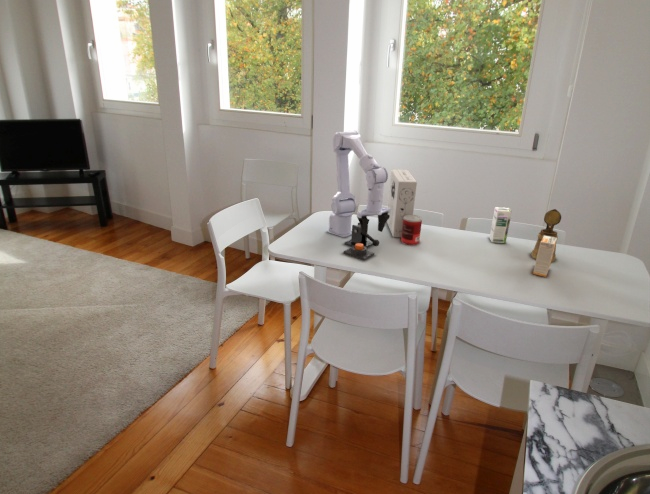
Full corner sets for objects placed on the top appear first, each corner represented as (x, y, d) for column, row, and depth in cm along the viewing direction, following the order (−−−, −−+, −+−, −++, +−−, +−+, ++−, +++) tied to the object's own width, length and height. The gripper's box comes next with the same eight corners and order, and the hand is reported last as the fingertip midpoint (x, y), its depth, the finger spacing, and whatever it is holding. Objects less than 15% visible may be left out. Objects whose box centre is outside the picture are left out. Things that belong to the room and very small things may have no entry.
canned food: (418, 239, 203) (421, 214, 198) (420, 246, 196) (423, 221, 191) (400, 238, 203) (402, 214, 199) (401, 244, 196) (404, 220, 192)
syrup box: (491, 242, 201) (497, 210, 195) (489, 237, 206) (495, 206, 200) (505, 243, 200) (512, 211, 194) (502, 238, 205) (509, 207, 200)
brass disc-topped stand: (557, 252, 193) (567, 210, 185) (554, 264, 182) (565, 220, 175) (533, 247, 197) (543, 206, 189) (529, 258, 186) (539, 215, 179)
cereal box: (410, 238, 204) (417, 181, 194) (392, 237, 204) (398, 181, 194) (402, 221, 223) (407, 169, 213) (386, 220, 223) (391, 169, 213)
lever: (378, 246, 190) (381, 241, 189) (374, 248, 188) (377, 243, 187) (357, 228, 195) (360, 223, 193) (354, 230, 193) (356, 225, 191)
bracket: (373, 245, 195) (374, 225, 192) (362, 250, 190) (363, 230, 186) (355, 239, 201) (356, 220, 197) (344, 244, 195) (345, 224, 191)
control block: (343, 253, 186) (343, 246, 185) (353, 248, 191) (354, 242, 190) (364, 261, 180) (364, 253, 179) (374, 255, 185) (374, 248, 184)
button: (353, 248, 184) (353, 244, 184) (358, 246, 187) (358, 242, 186) (360, 251, 183) (360, 246, 182) (364, 248, 185) (365, 244, 184)
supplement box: (546, 277, 171) (555, 244, 165) (532, 274, 173) (540, 241, 168) (549, 269, 177) (557, 237, 172) (535, 266, 179) (543, 234, 174)
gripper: (364, 204, 173) (362, 238, 179) (396, 200, 180) (393, 233, 185) (354, 199, 179) (352, 232, 185) (385, 195, 185) (382, 227, 191)
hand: (372, 232), depth 185 cm, fingers open, 7 cm apart
